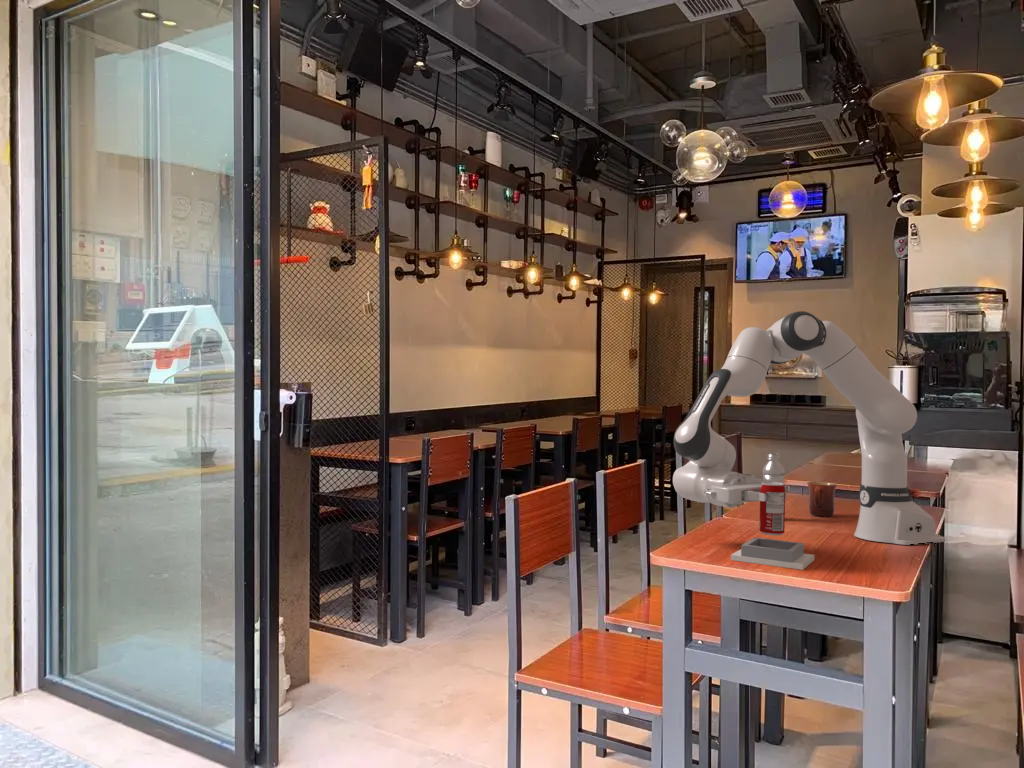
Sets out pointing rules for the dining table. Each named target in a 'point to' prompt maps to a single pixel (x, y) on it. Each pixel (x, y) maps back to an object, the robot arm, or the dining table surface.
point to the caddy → (773, 553)
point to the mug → (821, 498)
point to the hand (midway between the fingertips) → (776, 496)
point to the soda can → (772, 509)
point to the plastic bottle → (773, 469)
